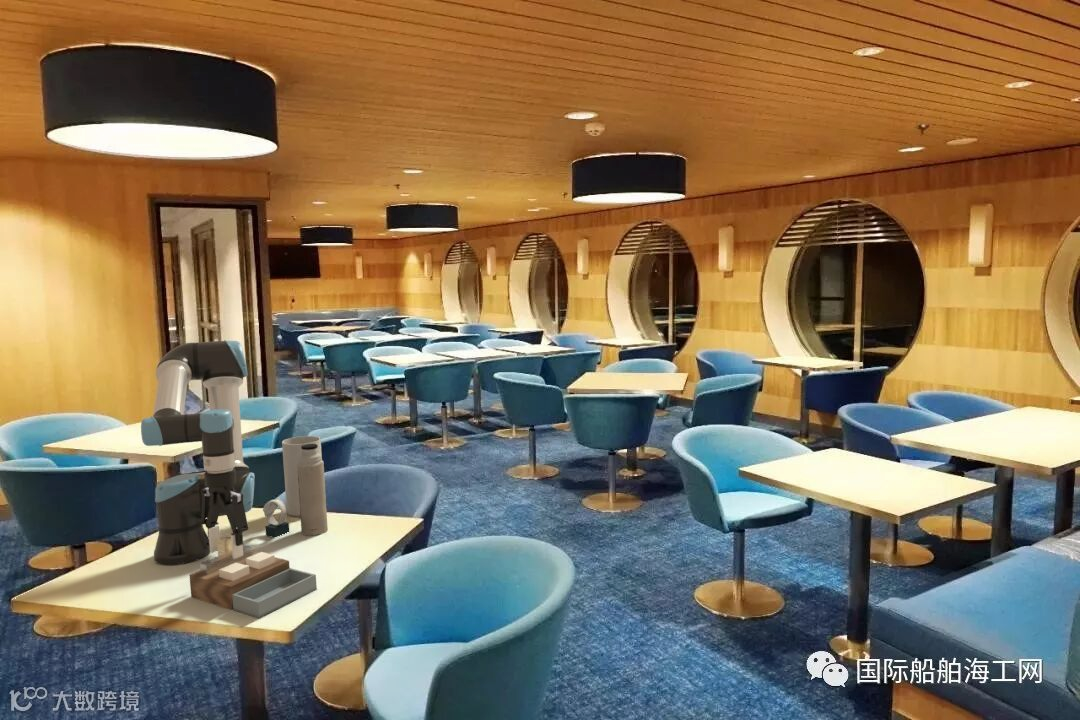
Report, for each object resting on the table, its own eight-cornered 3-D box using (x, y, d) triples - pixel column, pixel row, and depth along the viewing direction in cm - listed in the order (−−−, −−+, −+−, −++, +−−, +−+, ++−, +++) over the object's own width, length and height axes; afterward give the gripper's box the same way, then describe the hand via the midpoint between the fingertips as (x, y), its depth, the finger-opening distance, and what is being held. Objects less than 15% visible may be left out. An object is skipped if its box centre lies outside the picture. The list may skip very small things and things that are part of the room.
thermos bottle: (297, 535, 232) (291, 448, 228) (306, 527, 240) (301, 442, 236) (323, 535, 231) (317, 447, 228) (331, 526, 239) (325, 441, 236)
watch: (275, 529, 238) (273, 496, 237) (293, 533, 234) (291, 499, 233) (261, 534, 234) (259, 500, 232) (279, 538, 230) (276, 504, 228)
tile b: (246, 565, 193) (245, 558, 193) (262, 559, 198) (261, 551, 198) (259, 569, 191) (258, 561, 191) (274, 562, 195) (274, 555, 195)
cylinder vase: (313, 518, 248) (309, 445, 245) (279, 516, 251) (274, 444, 248) (331, 506, 260) (327, 436, 257) (298, 504, 263) (294, 435, 260)
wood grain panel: (191, 597, 189) (189, 574, 189) (250, 571, 205) (248, 550, 204) (232, 610, 181) (230, 586, 181) (290, 582, 197) (289, 560, 196)
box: (233, 610, 181) (232, 594, 181) (291, 582, 197) (290, 568, 196) (259, 618, 177) (258, 602, 176) (316, 589, 192) (315, 574, 192)
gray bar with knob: (200, 572, 190) (197, 546, 189) (246, 553, 202) (244, 529, 201) (207, 574, 188) (205, 548, 187) (253, 555, 200) (251, 530, 199)
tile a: (219, 577, 187) (219, 569, 186) (236, 569, 191) (235, 562, 191) (232, 580, 184) (232, 573, 184) (249, 573, 188) (249, 565, 188)
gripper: (181, 468, 194) (188, 551, 197) (234, 478, 183) (241, 566, 186) (206, 461, 200) (213, 542, 203) (259, 470, 190) (265, 555, 193)
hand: (226, 553), depth 195 cm, fingers open, 8 cm apart
